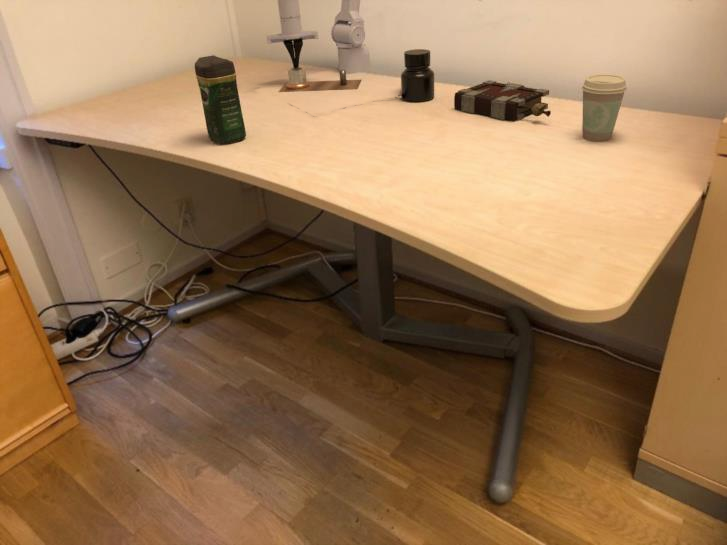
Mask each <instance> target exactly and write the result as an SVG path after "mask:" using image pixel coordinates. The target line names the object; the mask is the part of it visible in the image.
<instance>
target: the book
mask: <svg viewBox="0 0 727 545" xmlns="http://www.w3.org/2000/svg"><path fill="white" fill-rule="evenodd" d="M548 95H550V90H549V89H545V88H533V87H526V86H525V85H524V84H518V83H510V82H509V81H508V82H507V83H502V82H501V83H500V82H497V81H495V80H488V79H487V80H486V81H483V82H482V83H479V84H477V85H474V86H471V87H469V88H462V89H460V90H459V89H458V90H457V91H456V92H454V99H453V104H454V110H459V111H461V112H462V111H463V113H468V114H471V115H473V114H477V115H483V116H487V117H491V118H492V119H496V120H501V121H505V120H507V121H511V122H515V121H517V122H518V121H521V120H523V119H524V118H525V117H527V116H529V115H531V114H532V115H533V116H535V117H540V116H541V115H543V114H544V115H546V117H547V118H548V117H550V116H551V113H552V112H551V110H547V109H548V108H549V103H546V102H542V100H543V99H542V97H543V98H544V97H546V96H548Z"/></svg>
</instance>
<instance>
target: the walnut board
mask: <svg viewBox="0 0 727 545" xmlns="http://www.w3.org/2000/svg"><path fill="white" fill-rule="evenodd" d="M288 82H289V81H287V82H285V83H284V84H283V86H281V88H280V89H279V90H278V91H277V92H278V93H290V92H291V93H293V92H296V93H297V92H317V91H318V92H319V91H348V90H352V91H353V90H358V89H359V87H360V84H361V82H362V79H346V82H347V85H344V86H341V84H340V79H339V80H318V81H316V80H314V81H309V87H307V88H303V89H296V90H292V89H287V88H286V83H288Z"/></svg>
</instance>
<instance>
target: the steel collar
mask: <svg viewBox="0 0 727 545" xmlns="http://www.w3.org/2000/svg"><path fill="white" fill-rule="evenodd" d="M293 69H299V70H293ZM306 72H307V70H306V67H304V66H299V68H294V67H289V68H288V69H287V77H288V82H289V84H290V85H302V84H306V83H307V81H308V80H307V73H306Z"/></svg>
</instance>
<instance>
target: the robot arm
mask: <svg viewBox="0 0 727 545" xmlns="http://www.w3.org/2000/svg"><path fill="white" fill-rule="evenodd" d="M299 3H300V2H299V0H277V5H278V6H277V7H278V13H279V14H278V15H279V21H280V22H279V23H280V30H281V33H276V34H270V35H268V34H267V35H266V36H265V37H266V43H267V44H268V45H270V44H276V43H283V45H284V47H285V48H286V50H287V52H288V54H289V57H290V59H291V62H292V66H293V67H294V68H299V67H300V64H299V63H300V58H301V51H302V49H303V45H304V42H303V41H304V40H313V39H314V40H318V39H319V32H318V30H307V31H306V30H305V31H304V30H302V29H303V28H302V21H301V13H300V4H299ZM360 4H361V0H341V7H340V11H339V12H338V14H336V16H335V17H334V22H333V25H332V27H331V31H330V34H331V35H330V36H331V39H332V41H333V42H334V43H335V46H336V47H337V59H338V70H339V71H340V70H346V75H353V74H357V73H362V72H366V71H371V59H370V58H371V55H370V49H369V47H368V46H367V45H366V43H365V44H364V40H365V39H366V29H365V19H364V18H363V16H361V15H360ZM293 67H292V68H293Z"/></svg>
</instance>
